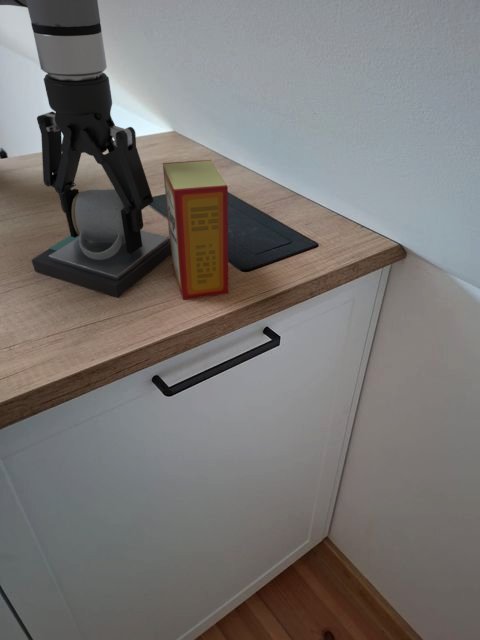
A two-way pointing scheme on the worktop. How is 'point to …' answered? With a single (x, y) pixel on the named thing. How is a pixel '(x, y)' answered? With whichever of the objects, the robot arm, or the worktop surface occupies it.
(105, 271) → the scale pan
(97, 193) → the ceramic mug
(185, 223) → the baking soda box
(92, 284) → the scale
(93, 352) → the worktop surface
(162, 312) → the worktop surface
